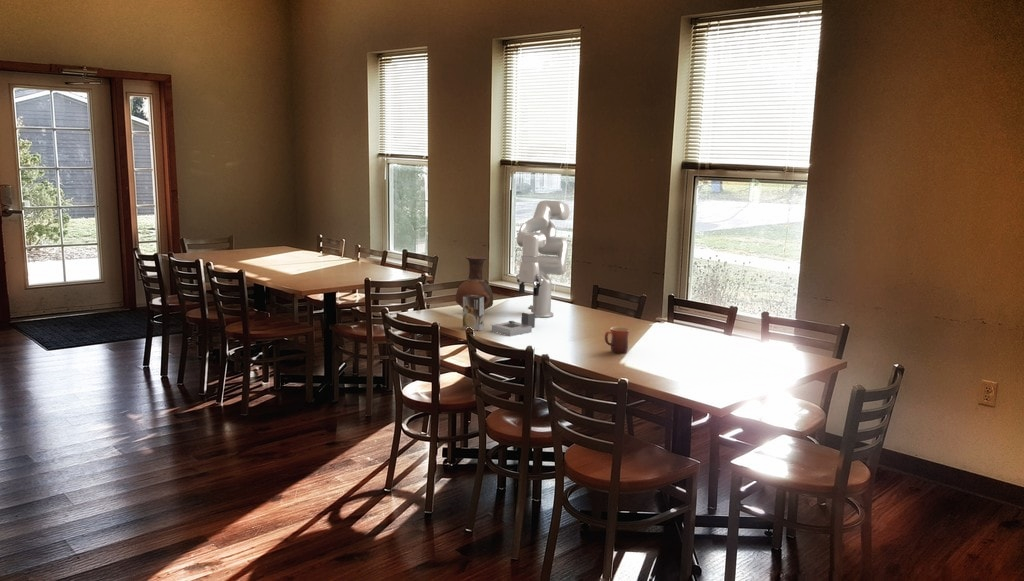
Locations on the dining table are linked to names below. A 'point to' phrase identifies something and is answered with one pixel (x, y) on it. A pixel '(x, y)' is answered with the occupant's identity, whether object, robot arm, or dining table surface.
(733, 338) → the dining table surface
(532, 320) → the plug
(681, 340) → the dining table surface
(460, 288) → the vase
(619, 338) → the mug
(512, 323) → the socket plate
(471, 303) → the coffee box
